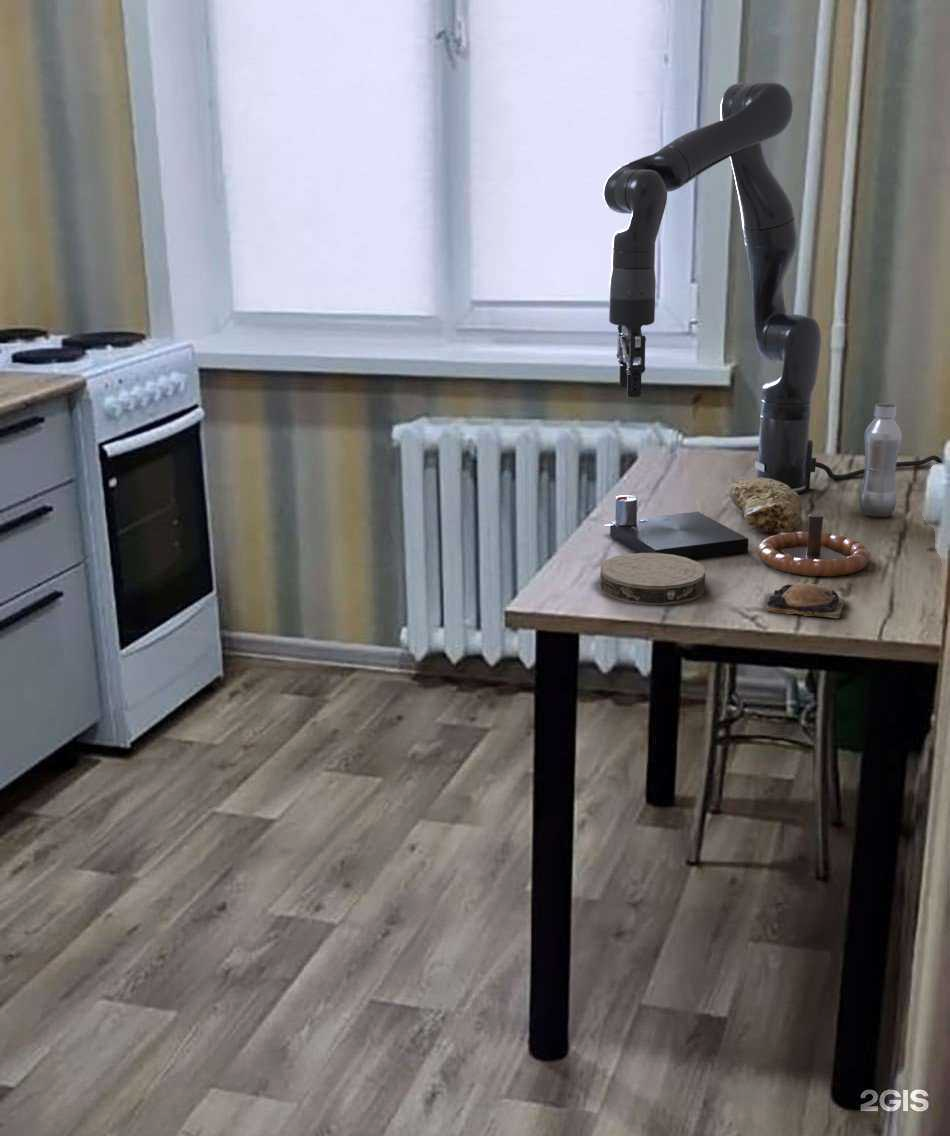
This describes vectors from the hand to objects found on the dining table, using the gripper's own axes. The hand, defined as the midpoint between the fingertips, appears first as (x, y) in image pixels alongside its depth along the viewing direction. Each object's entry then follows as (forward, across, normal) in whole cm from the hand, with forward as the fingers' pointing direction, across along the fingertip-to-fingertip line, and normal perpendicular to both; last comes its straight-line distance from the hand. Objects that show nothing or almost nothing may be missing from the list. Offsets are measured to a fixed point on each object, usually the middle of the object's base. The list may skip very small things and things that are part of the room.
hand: (629, 391), depth 231 cm
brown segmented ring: (+23, -20, -27) cm, 41 cm away
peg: (+24, -20, -27) cm, 42 cm away
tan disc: (+24, -31, +1) cm, 39 cm away
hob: (+24, -9, -6) cm, 27 cm away
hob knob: (+22, -5, +1) cm, 22 cm away
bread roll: (+24, -41, -20) cm, 52 cm away
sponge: (+24, +3, -25) cm, 35 cm away
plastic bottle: (+24, +4, -46) cm, 52 cm away
